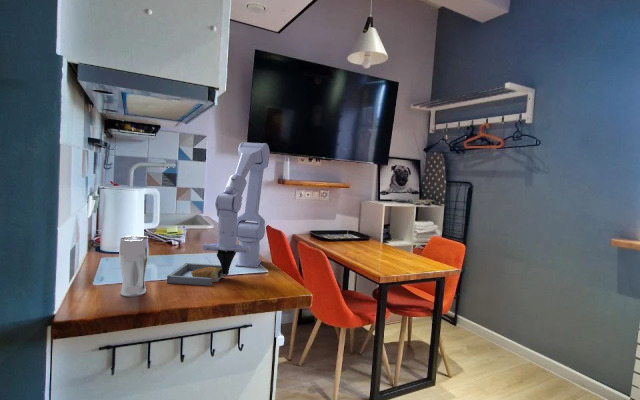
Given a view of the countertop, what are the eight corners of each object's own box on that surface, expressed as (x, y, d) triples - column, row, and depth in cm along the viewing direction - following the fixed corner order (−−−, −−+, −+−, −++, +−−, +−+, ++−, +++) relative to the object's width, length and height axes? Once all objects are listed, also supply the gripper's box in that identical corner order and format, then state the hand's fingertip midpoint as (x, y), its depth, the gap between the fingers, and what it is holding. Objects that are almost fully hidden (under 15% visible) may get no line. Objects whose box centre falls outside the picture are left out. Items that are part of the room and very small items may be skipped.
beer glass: (152, 289, 101) (153, 236, 100) (139, 298, 94) (141, 241, 93) (127, 287, 101) (128, 234, 100) (113, 296, 94) (113, 239, 93)
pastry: (187, 280, 111) (187, 268, 110) (197, 274, 117) (197, 262, 117) (216, 283, 109) (217, 271, 109) (225, 277, 116) (225, 265, 116)
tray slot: (185, 268, 122) (186, 263, 122) (224, 271, 122) (224, 265, 122) (166, 282, 107) (167, 276, 107) (210, 285, 107) (211, 279, 107)
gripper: (200, 232, 109) (198, 276, 110) (248, 235, 109) (246, 279, 111) (207, 228, 116) (205, 269, 118) (252, 231, 116) (250, 272, 118)
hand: (225, 274), depth 115 cm, fingers closed
